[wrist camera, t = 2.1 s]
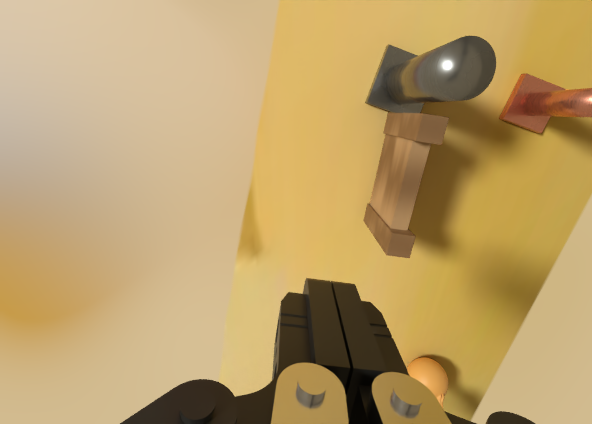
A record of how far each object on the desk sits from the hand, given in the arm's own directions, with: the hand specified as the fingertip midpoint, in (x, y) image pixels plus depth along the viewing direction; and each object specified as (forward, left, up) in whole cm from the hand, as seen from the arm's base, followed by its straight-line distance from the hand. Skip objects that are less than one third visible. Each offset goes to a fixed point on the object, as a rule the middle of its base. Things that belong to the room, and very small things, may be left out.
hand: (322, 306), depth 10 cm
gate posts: (-11, +10, -19) cm, 24 cm away
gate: (-3, +6, -18) cm, 19 cm away
